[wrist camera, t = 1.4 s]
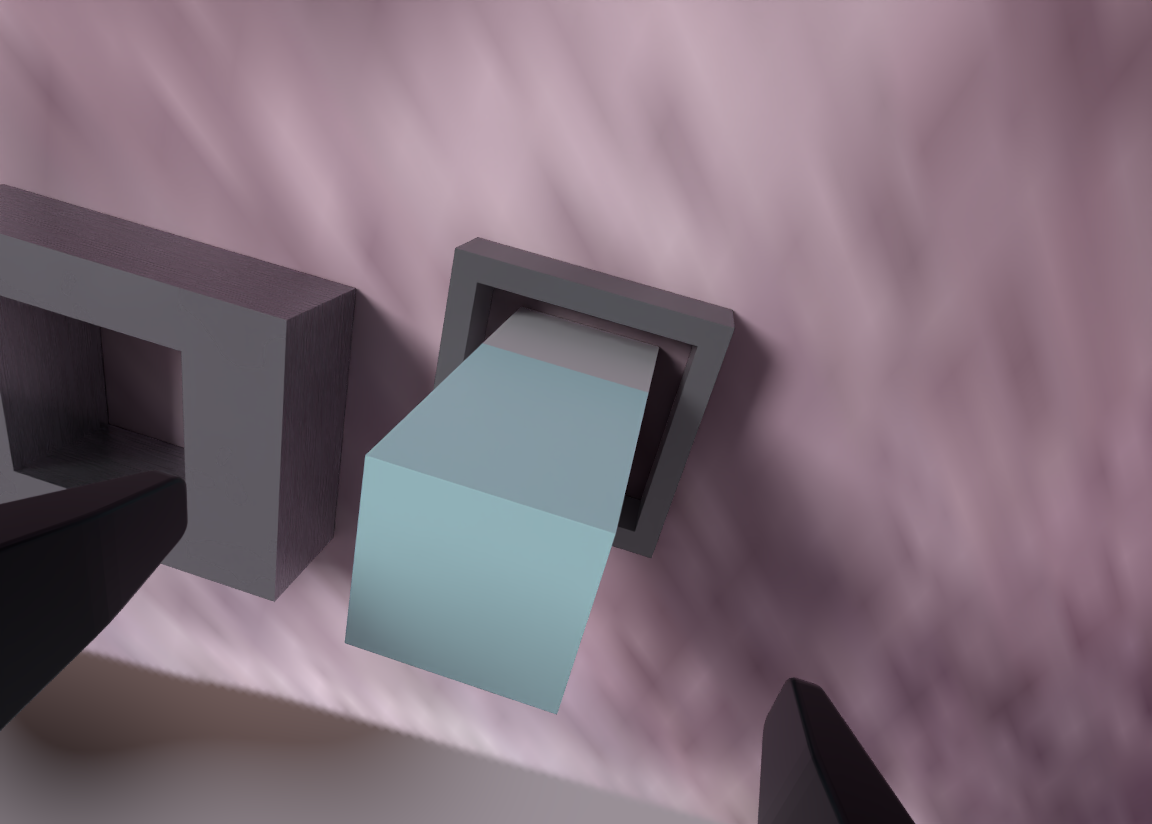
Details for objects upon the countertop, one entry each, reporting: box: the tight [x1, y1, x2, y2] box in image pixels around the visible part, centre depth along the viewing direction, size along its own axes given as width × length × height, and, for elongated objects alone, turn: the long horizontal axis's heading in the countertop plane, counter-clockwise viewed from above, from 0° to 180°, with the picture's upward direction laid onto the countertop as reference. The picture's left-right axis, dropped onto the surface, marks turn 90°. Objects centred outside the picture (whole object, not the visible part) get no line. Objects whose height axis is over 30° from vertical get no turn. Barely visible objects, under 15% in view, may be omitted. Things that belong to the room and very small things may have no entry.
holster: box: [433, 237, 735, 558], centre depth 16 cm, size 6×6×2 cm
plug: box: [345, 307, 659, 714], centre depth 13 cm, size 4×4×8 cm
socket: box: [0, 184, 356, 602], centre depth 17 cm, size 10×8×3 cm
